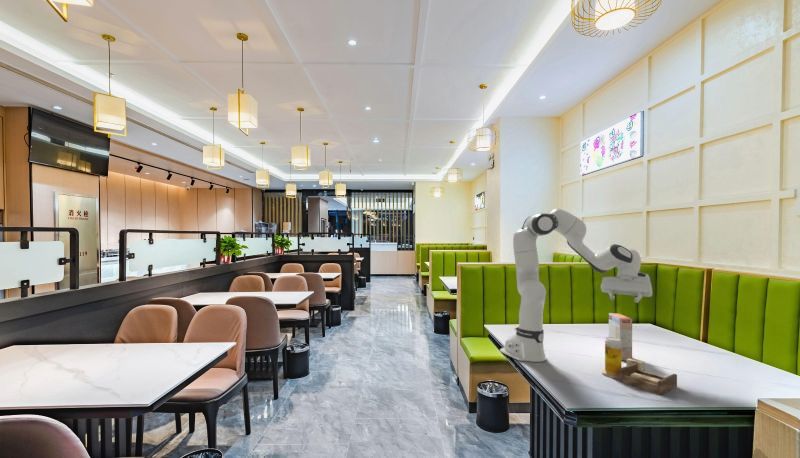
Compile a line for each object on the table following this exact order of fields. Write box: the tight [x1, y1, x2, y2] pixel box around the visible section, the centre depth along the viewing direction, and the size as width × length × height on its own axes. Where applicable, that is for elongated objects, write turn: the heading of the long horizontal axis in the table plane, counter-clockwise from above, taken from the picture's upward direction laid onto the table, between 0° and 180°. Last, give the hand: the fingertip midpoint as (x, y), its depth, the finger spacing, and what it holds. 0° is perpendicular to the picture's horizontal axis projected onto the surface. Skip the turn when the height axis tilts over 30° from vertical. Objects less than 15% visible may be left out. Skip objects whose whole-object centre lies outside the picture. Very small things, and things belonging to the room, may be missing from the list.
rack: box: [618, 363, 678, 396], centre depth 140 cm, size 15×14×5 cm
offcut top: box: [626, 358, 645, 371], centre depth 158 cm, size 6×4×3 cm
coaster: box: [601, 369, 619, 380], centre depth 149 cm, size 8×8×1 cm
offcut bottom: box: [631, 373, 660, 385], centre depth 137 cm, size 9×4×4 cm, turn 40°
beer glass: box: [604, 336, 623, 376], centre depth 149 cm, size 6×6×15 cm
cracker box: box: [608, 312, 633, 362], centre depth 174 cm, size 14×6×21 cm, turn 168°
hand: (623, 300), depth 157 cm, fingers open, 8 cm apart
